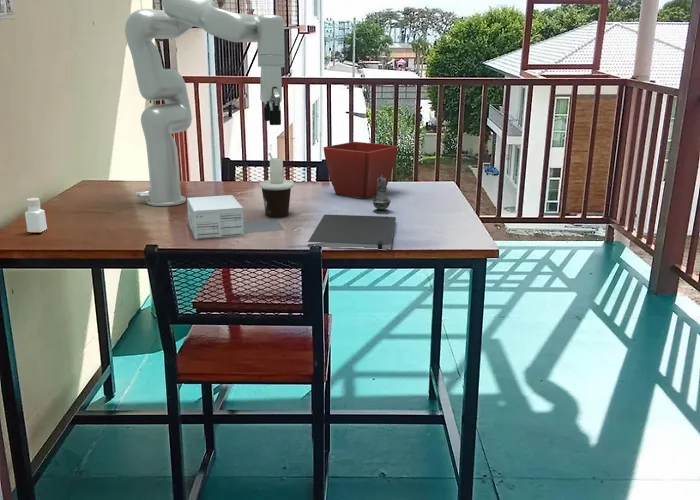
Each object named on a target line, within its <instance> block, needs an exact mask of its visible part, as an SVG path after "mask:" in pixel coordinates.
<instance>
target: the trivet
mask: <svg viewBox="0 0 700 500" xmlns="http://www.w3.org/2000/svg"><path fill="white" fill-rule="evenodd" d="M243 227H244V234H247V233H258V232H259V233H261V232H274V231H285V230H284V228H283V227H282V225H281V224H280V222H279V221H278V219H267V220H255V221H243Z"/></svg>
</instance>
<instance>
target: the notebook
mask: <svg viewBox="0 0 700 500" xmlns="http://www.w3.org/2000/svg"><path fill="white" fill-rule="evenodd" d="M396 220H397V217H395V216H388V215H387V216H382V215H380V216H379V215H378V216H377V215H352V214H347V215H346V214H324V215H323V216H322V218H321V220H320V222H318V225H317V226H316V228H315V229H314V231H313V233H312V234H311V236H310V238H309V239H308V241H307V242H308V244H307V247H308V248H311V247H310V246H314V245H315V246H322V247H364V248H378V249H389V248H392V244H393V238H394V231H395V226H396ZM392 237H393V238H392ZM309 242H311V243H309ZM391 243H392V244H391Z"/></svg>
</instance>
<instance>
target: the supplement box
mask: <svg viewBox="0 0 700 500" xmlns="http://www.w3.org/2000/svg"><path fill="white" fill-rule="evenodd" d="M186 203H187V215H188V216H187V217H188V225H189V229H190V230H191V233H192V235H193V237H194V240H205V239H206V240H207V239H217V238H218V239H219V238H229V237H239V236H245V233H244V227H243V222H244V207H243V206H242V205H241V204H240V202H238V200H237V198H236V197H235V196H234V195H233V194H230V195H229V194H227V195H214V196H213V195H212V196H210V195H209V196H197V197H196V196H195V197H187V198H186Z"/></svg>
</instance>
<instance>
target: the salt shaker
mask: <svg viewBox="0 0 700 500" xmlns="http://www.w3.org/2000/svg"><path fill="white" fill-rule="evenodd" d="M26 206H27V209H28V210H26V211H25V212H24V215H25V222H26V231H27V233H28V232H42V231H44V230H46V229H47V230H48V226H47V218H46V213H45V212H46V211H45V210H44V209H41V200H40V198H39V197H29V198H27V199H26Z"/></svg>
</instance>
